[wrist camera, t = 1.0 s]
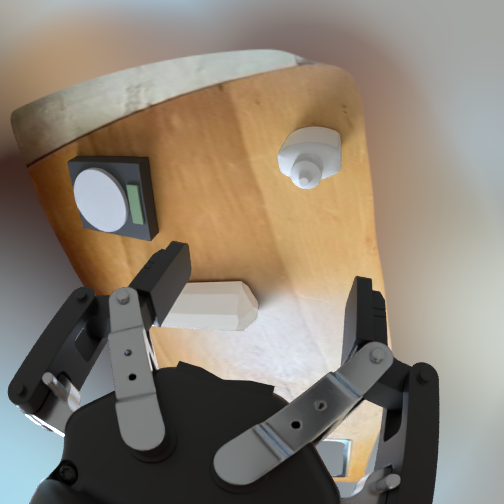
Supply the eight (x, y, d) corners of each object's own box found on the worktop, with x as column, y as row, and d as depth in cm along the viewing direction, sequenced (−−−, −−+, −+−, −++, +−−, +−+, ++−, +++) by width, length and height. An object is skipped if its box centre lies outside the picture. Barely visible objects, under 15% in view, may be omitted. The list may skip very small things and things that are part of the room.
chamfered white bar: (246, 285, 40) (118, 287, 49) (251, 336, 41) (125, 327, 49) (263, 276, 47) (144, 280, 56) (267, 320, 48) (150, 316, 56)
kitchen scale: (77, 155, 40) (63, 163, 37) (148, 157, 37) (135, 165, 35) (91, 220, 47) (80, 230, 44) (158, 232, 44) (148, 244, 42)
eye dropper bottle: (299, 112, 29) (279, 139, 20) (347, 135, 29) (352, 175, 20) (283, 146, 32) (258, 189, 23) (329, 168, 32) (324, 221, 23)
